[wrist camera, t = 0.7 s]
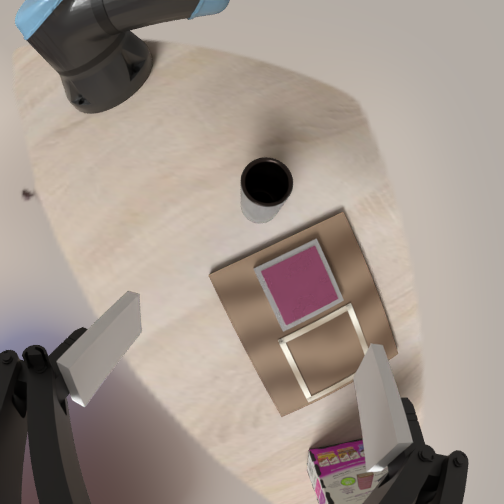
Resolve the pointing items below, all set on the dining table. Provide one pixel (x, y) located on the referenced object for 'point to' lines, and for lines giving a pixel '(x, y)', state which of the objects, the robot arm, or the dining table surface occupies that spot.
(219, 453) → the dining table surface
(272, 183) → the gray cylinder
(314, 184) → the dining table surface
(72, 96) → the robot arm
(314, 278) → the ink pad
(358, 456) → the candy bar box
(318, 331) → the walnut board
